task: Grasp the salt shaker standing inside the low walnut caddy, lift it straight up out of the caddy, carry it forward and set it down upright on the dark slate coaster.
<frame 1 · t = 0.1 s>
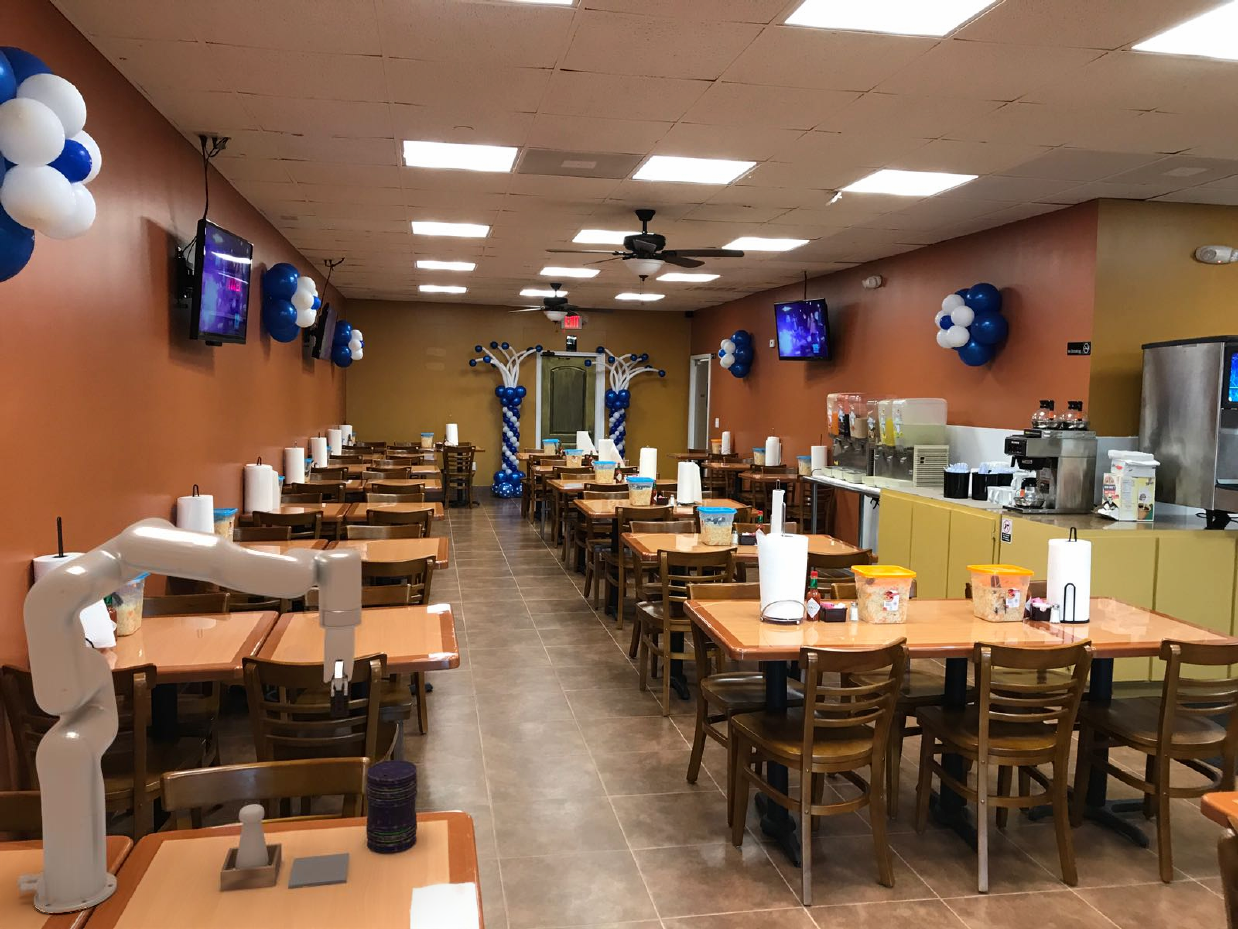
hand: (340, 707, 169), 31 cm above the table, tool pointing down, fingers open, 9 cm apart
coaster: (319, 871, 171), on the table
caddy: (252, 875, 169), on the table
dark blue cylinder: (391, 843, 182), on the table
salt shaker: (252, 876, 169), resting in caddy
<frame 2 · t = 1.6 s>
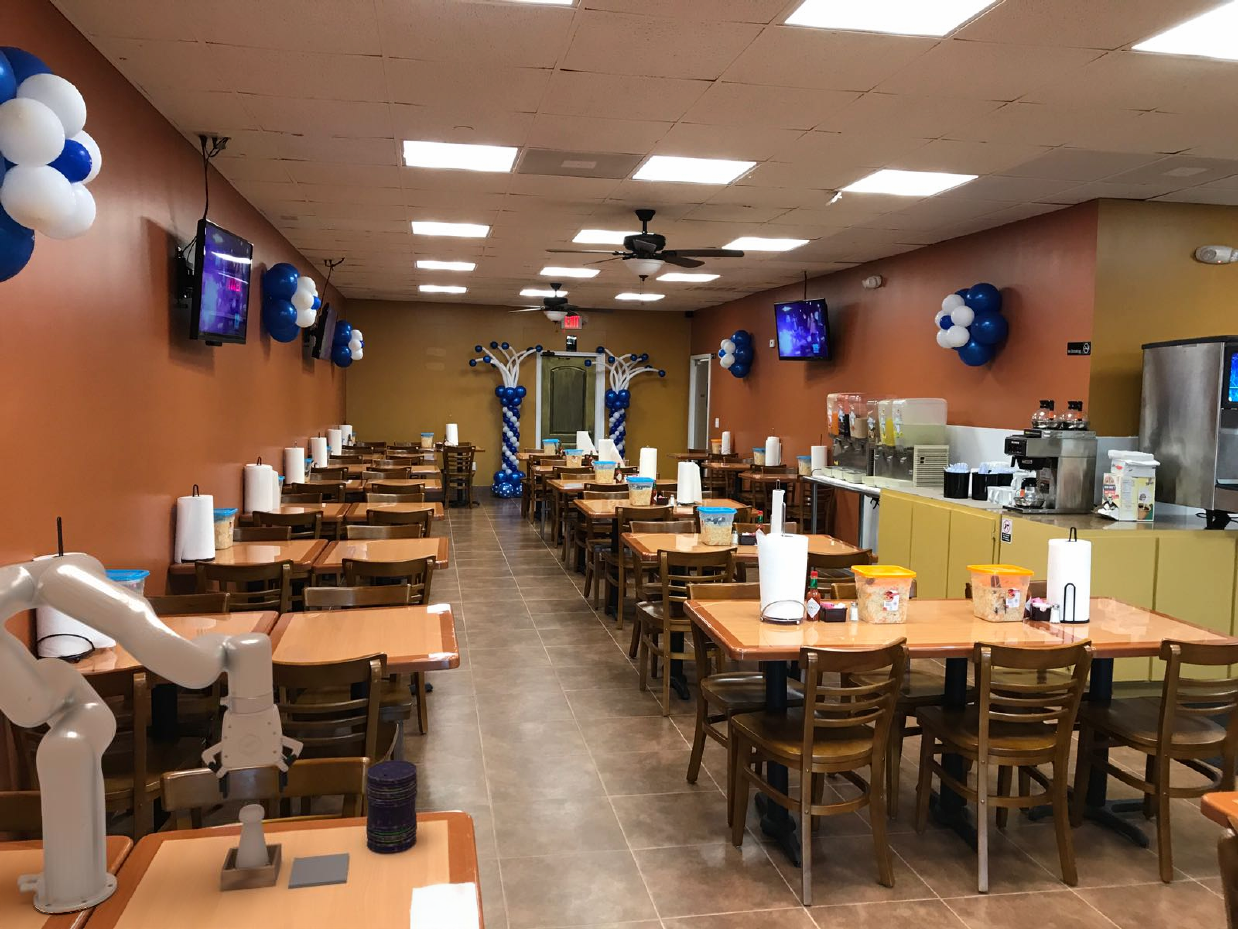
hand: (254, 792, 168), 16 cm above the table, tool pointing down, fingers open, 9 cm apart
nothing on the table moved.
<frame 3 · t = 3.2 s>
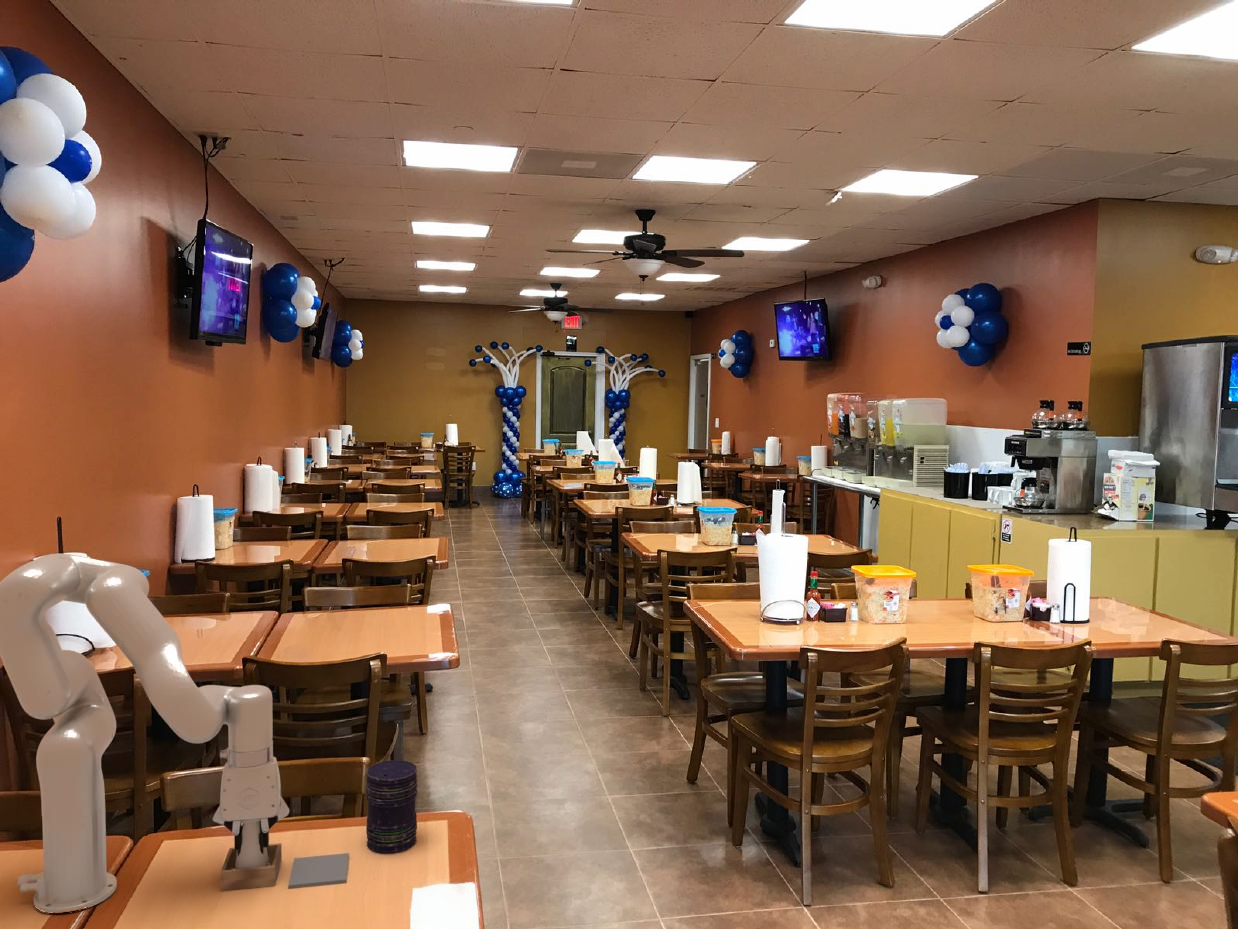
hand: (251, 851, 169), 5 cm above the table, tool pointing down, fingers closed on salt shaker, 3 cm apart
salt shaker: (252, 876, 169), resting in caddy, touching gripper
everything else where it was.
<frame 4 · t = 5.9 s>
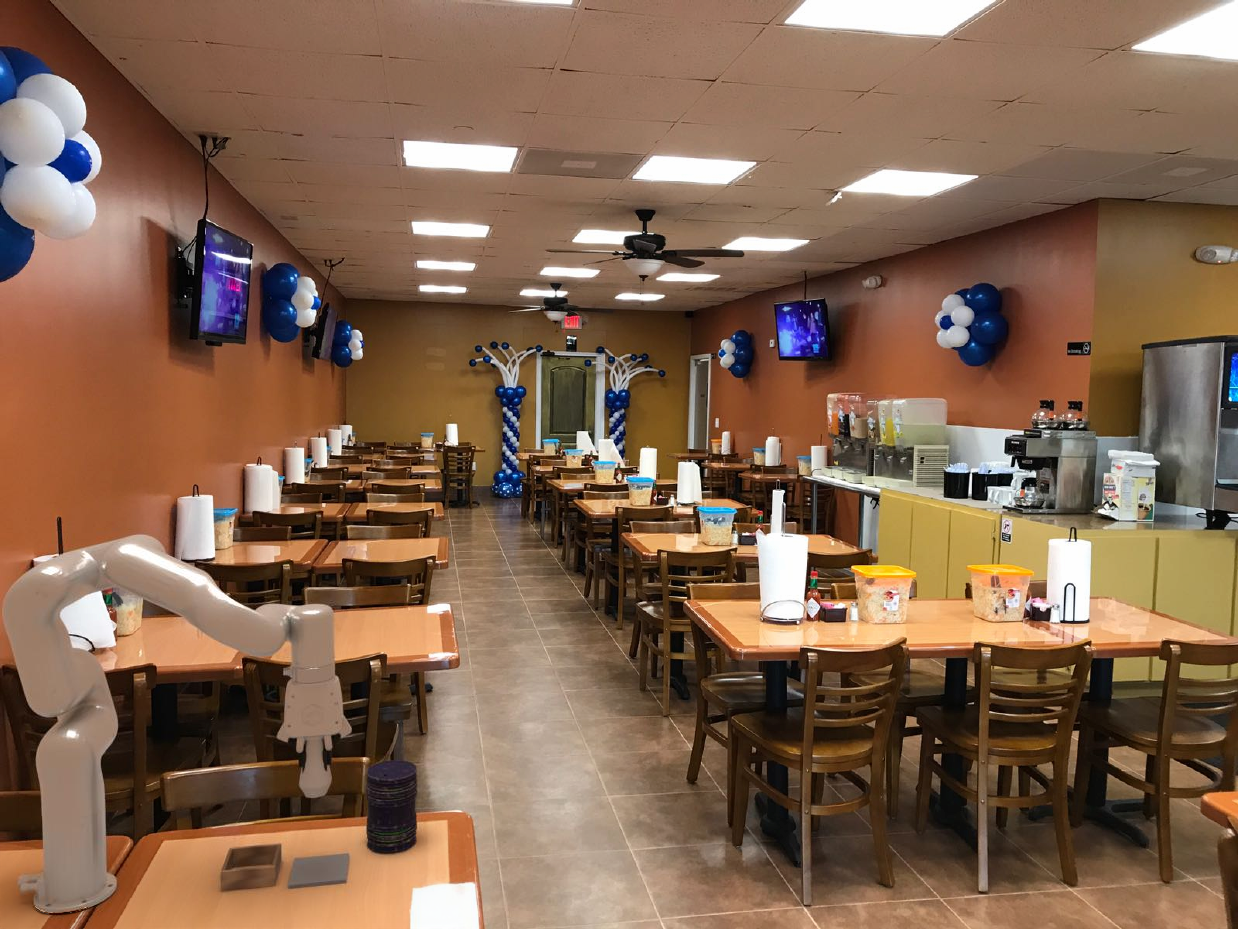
hand: (315, 768, 169), 20 cm above the table, tool pointing down, fingers closed on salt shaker, 3 cm apart
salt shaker: (315, 794, 170), point 15 cm above the table, touching gripper
everything else where it was.
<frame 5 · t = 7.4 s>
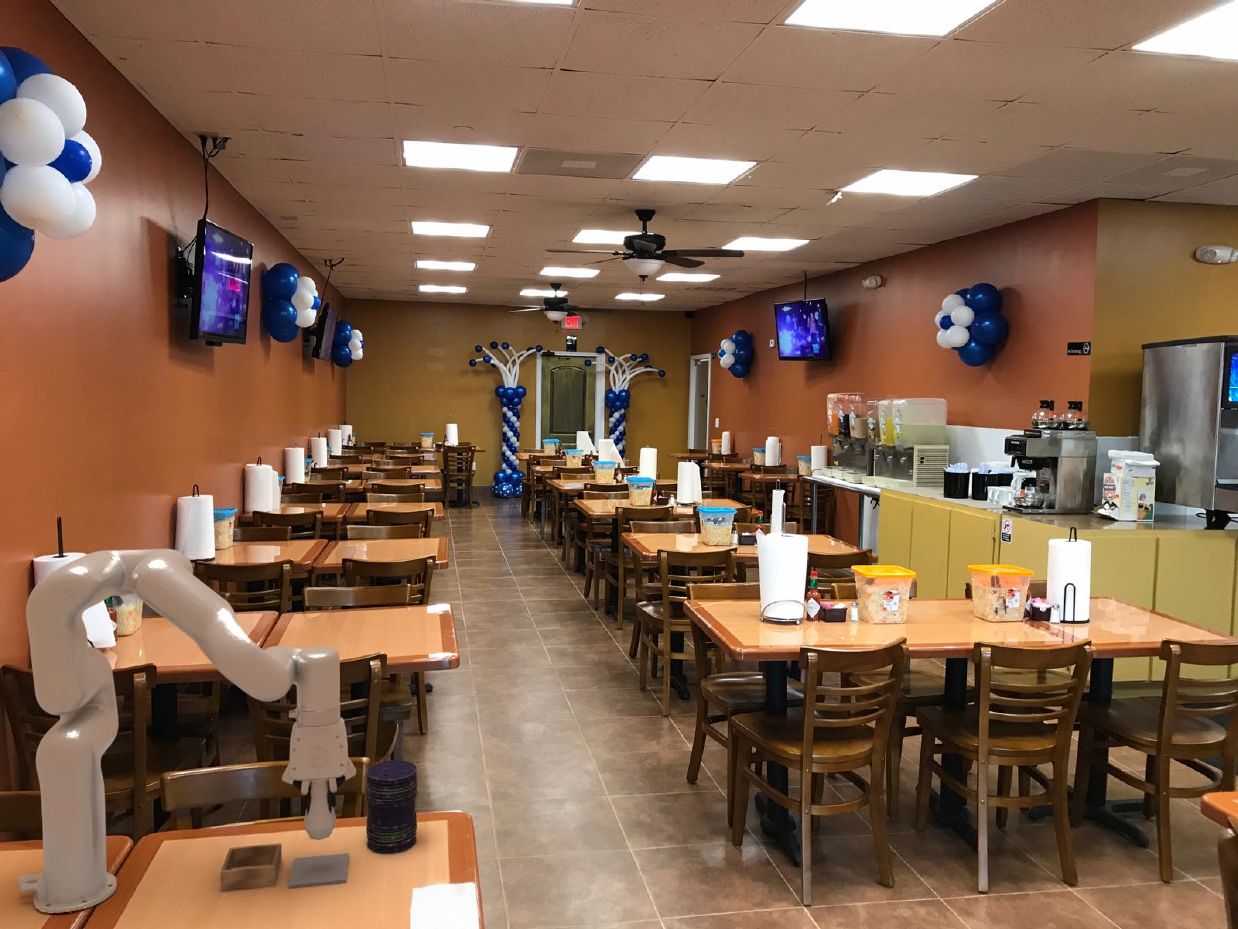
hand: (319, 810, 170), 12 cm above the table, tool pointing down, fingers closed on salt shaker, 3 cm apart
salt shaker: (320, 836, 170), point 7 cm above the table, touching gripper
everything else where it was.
when the fingers open (6 cm above the table, at t = 8.7 s): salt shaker stays where it is, resting on coaster.
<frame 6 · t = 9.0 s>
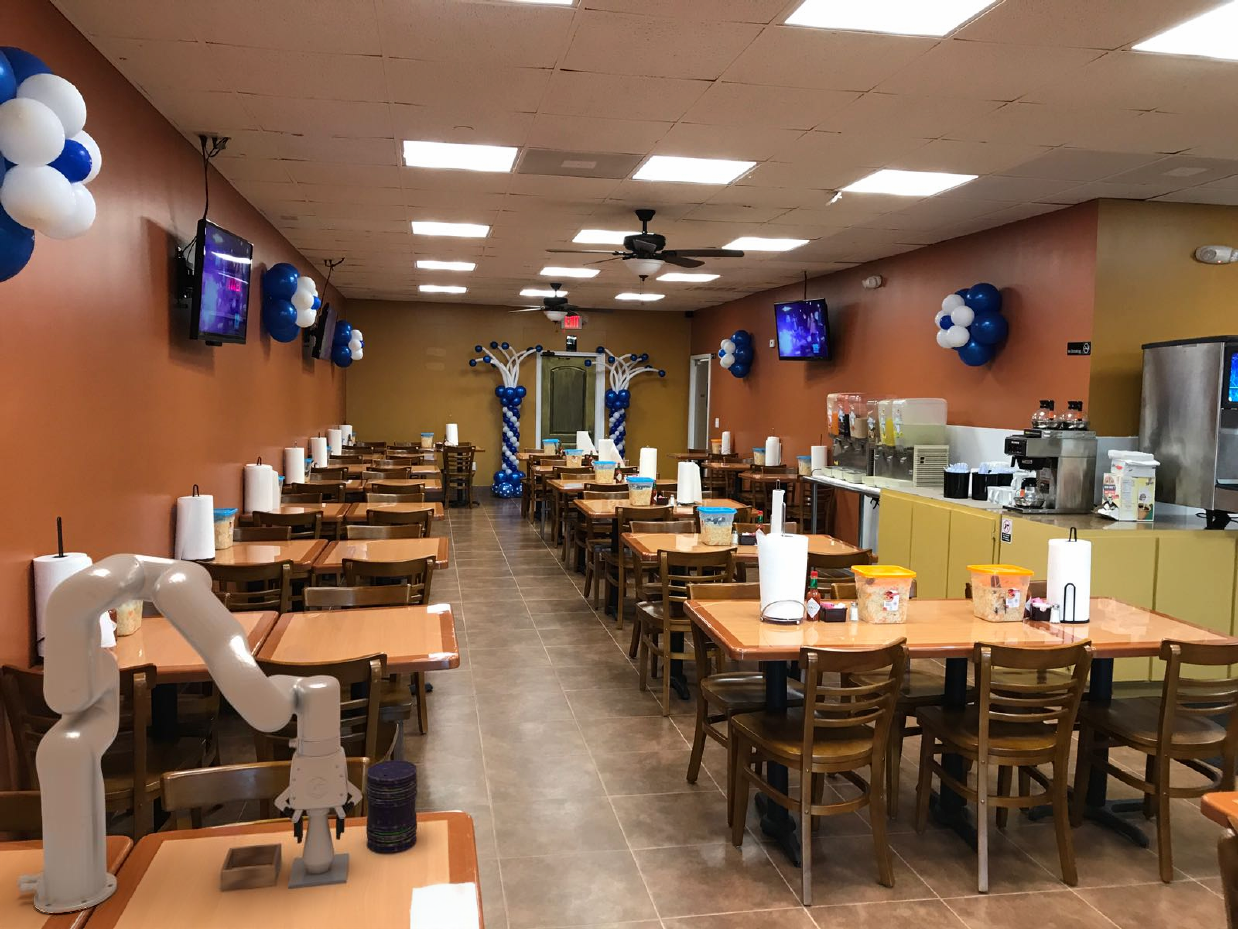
hand: (319, 837, 170), 7 cm above the table, tool pointing down, fingers open, 6 cm apart
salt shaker: (318, 869, 171), resting on coaster
everything else where it was.
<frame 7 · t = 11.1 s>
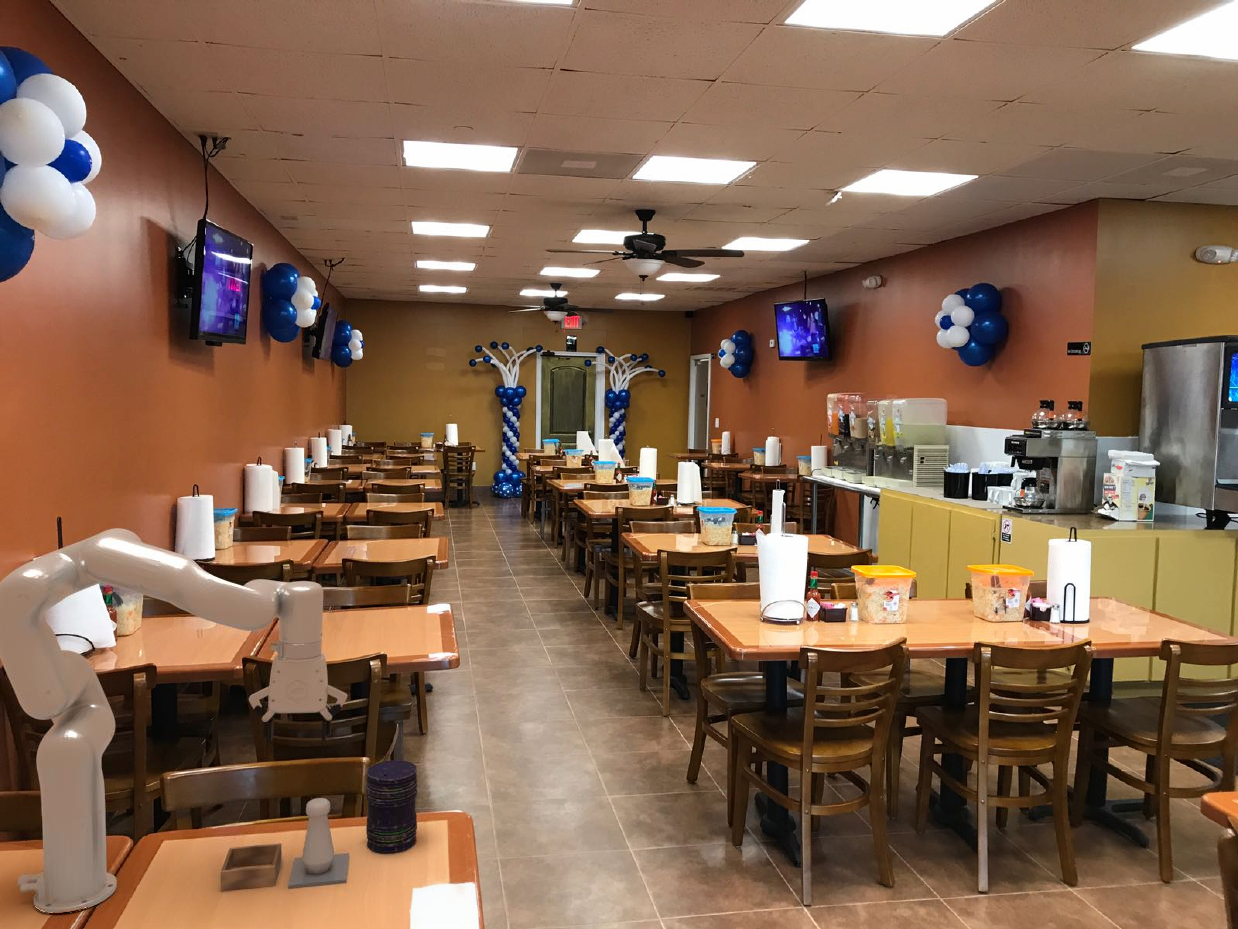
hand: (297, 739, 170), 25 cm above the table, tool pointing down, fingers open, 9 cm apart
nothing on the table moved.
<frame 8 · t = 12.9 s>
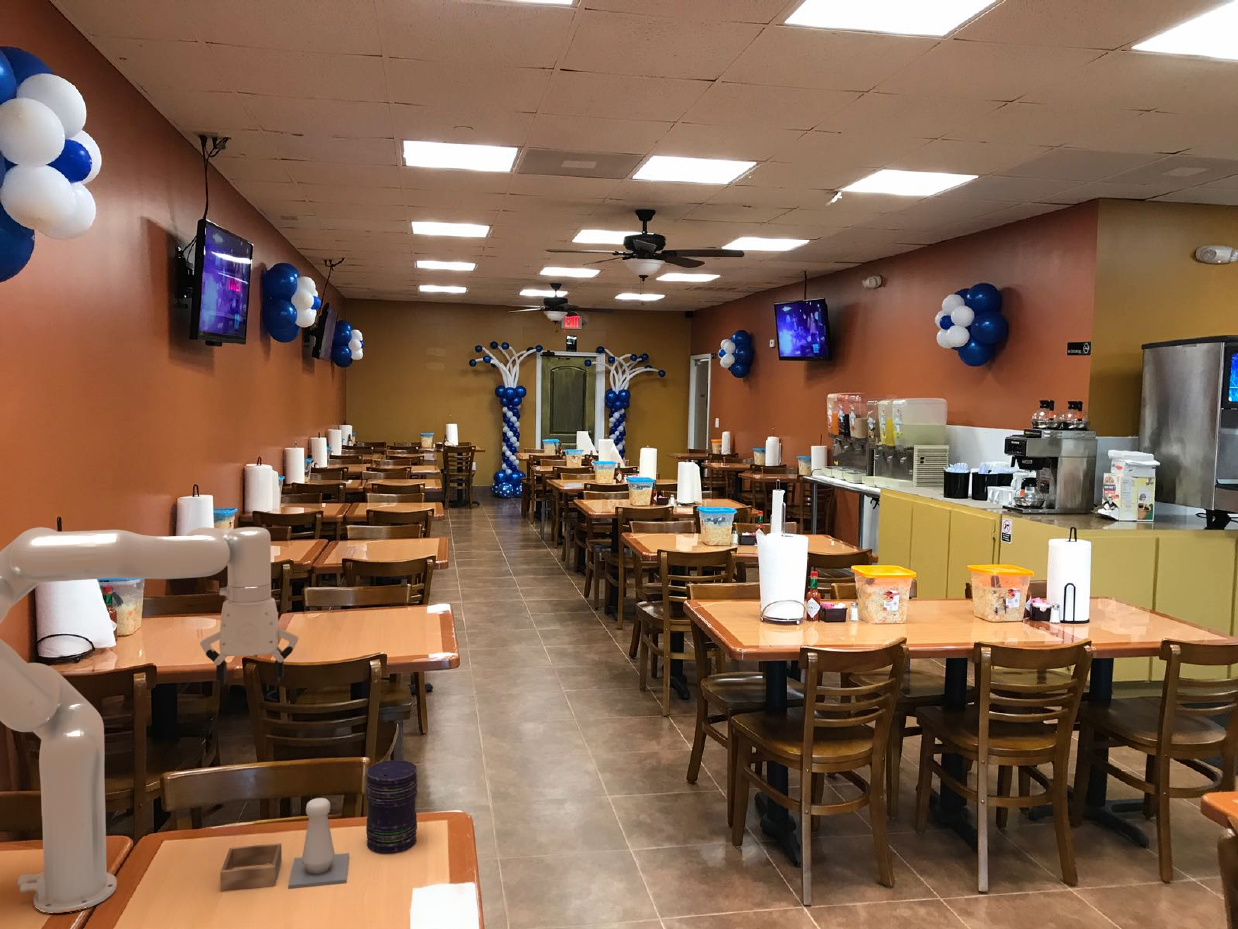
hand: (250, 682, 173), 34 cm above the table, tool pointing down, fingers open, 9 cm apart
nothing on the table moved.
at the end: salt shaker inside the target area on the coaster (0.2 cm from its centre), point 0.4 cm above the coaster's base; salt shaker tilted 0°; the gripper is holding nothing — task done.
